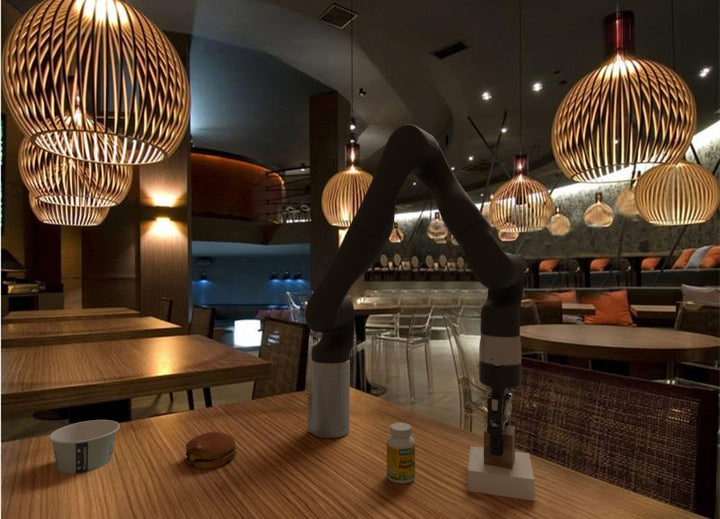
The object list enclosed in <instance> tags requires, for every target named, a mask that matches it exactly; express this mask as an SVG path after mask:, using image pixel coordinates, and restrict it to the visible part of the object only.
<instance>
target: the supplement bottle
mask: <svg viewBox="0 0 720 519" xmlns="http://www.w3.org/2000/svg"><path fill="white" fill-rule="evenodd" d="M389 430H390V431H389V432H390V435H388V437H387V440H386V477H387V479H388V480H389V481H390V482H392V483H395V484H398V485H403V484H409V483H411V482H413V481H414V480H415V478H416V441H415V438H414V437H413V435H412V426H411V424H409V423H405V422H396V423H391V424H390V426H389Z"/></svg>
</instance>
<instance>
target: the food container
mask: <svg viewBox="0 0 720 519" xmlns="http://www.w3.org/2000/svg"><path fill="white" fill-rule="evenodd" d="M120 427H121V425H120V423H119V422H118V421H115V420H109V419H95V420H93V419H92V420H86V421H79V422H76V423H70V424H68V425H65V426H62V427H60V428H58V429H56V430H53V432H51V433H50V434H49V436H48V439H49V441H50V442H51V443H52V449H53V454H54V459H55V464H56V470H57V472H59V473H63V474H71V475H72V474H81V473H85V472H86V473H88V472H90V471H94V470H97V469H99V468H102V467H104V466H105V465H107V464H109V463H110V461H112V459H113V453H114V449H115V442H116V438H117V432H118V431H119V429H120Z"/></svg>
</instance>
